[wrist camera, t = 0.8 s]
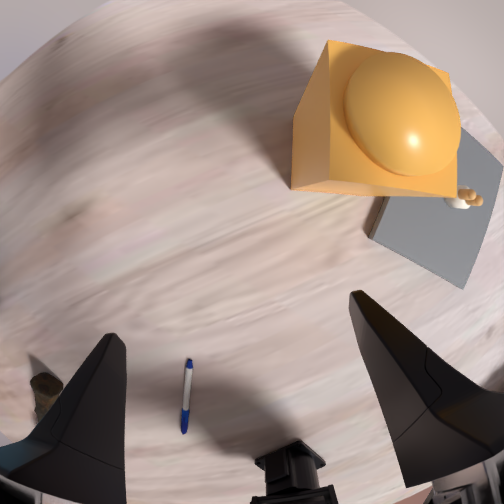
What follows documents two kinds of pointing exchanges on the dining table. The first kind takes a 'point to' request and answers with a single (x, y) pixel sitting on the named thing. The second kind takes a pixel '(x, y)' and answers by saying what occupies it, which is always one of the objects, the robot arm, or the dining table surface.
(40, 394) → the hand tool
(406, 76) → the orange knob block
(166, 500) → the dining table surface
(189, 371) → the ballpoint pen
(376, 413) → the dining table surface
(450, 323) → the dining table surface
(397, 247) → the plain gray block
